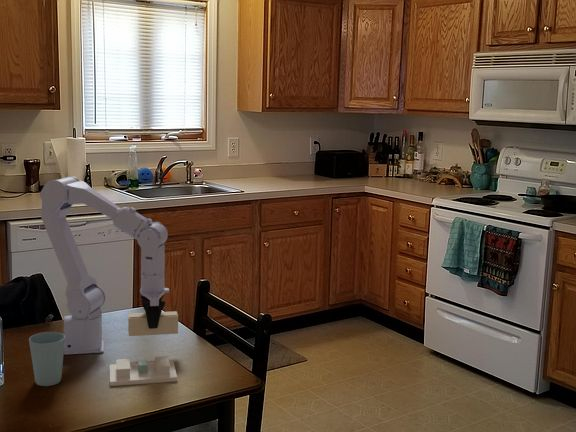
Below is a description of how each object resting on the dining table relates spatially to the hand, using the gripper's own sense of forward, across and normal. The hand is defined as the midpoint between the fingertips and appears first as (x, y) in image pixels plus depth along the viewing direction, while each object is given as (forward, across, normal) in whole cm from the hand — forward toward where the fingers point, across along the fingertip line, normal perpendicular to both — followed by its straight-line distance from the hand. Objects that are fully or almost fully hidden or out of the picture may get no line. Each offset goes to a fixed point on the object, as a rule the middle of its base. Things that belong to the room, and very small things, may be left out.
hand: (152, 324), depth 172 cm
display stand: (+8, -12, +3) cm, 15 cm away
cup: (+8, -12, +24) cm, 28 cm away
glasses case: (+2, 0, 0) cm, 2 cm away
